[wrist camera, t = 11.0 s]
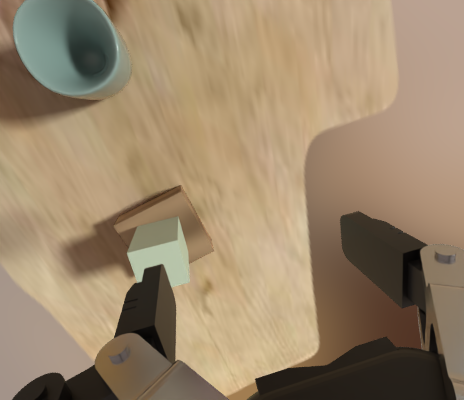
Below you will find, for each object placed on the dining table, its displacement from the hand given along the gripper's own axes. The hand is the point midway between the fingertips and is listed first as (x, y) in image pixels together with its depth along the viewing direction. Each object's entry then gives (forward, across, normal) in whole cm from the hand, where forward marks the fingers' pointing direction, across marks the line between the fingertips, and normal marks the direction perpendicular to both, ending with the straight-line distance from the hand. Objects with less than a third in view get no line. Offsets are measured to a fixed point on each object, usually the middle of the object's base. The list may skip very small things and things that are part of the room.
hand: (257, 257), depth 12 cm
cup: (+26, +9, -13) cm, 31 cm away
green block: (+22, +8, +8) cm, 25 cm away
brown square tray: (+26, +7, +8) cm, 28 cm away
